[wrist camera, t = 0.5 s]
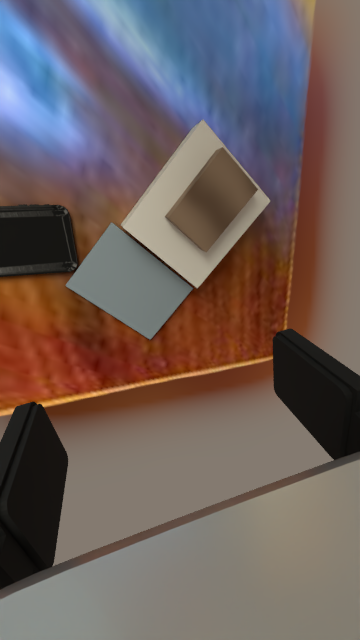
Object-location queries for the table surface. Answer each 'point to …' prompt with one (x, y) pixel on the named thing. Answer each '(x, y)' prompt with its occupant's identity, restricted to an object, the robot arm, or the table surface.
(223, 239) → the riser
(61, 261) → the phone
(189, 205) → the walnut tile
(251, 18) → the table surface
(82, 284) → the mat
